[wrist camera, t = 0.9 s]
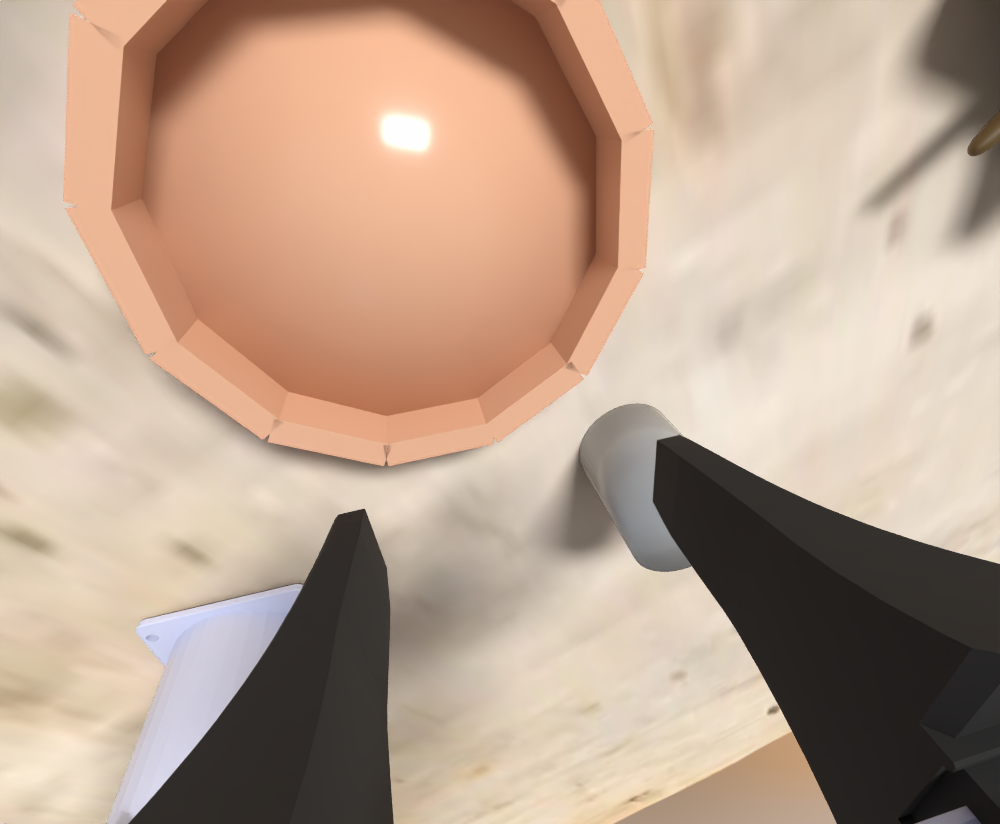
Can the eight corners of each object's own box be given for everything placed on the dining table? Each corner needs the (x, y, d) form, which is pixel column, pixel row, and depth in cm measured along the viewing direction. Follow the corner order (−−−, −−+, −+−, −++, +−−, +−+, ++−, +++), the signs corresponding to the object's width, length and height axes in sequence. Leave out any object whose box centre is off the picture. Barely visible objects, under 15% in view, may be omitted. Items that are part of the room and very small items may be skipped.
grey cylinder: (664, 471, 26) (732, 556, 21) (579, 490, 26) (628, 582, 21) (673, 395, 24) (752, 471, 19) (578, 414, 23) (634, 498, 18)
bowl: (607, 380, 22) (636, 413, 20) (244, 452, 20) (225, 500, 18) (618, -119, 14) (672, -170, 11) (-14, -77, 12) (-119, -127, 9)
